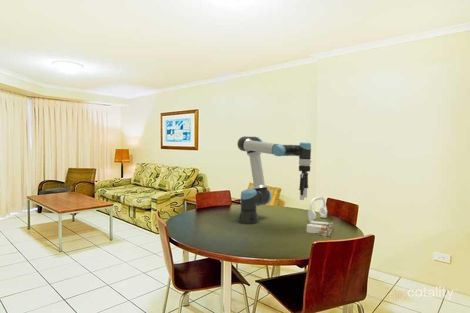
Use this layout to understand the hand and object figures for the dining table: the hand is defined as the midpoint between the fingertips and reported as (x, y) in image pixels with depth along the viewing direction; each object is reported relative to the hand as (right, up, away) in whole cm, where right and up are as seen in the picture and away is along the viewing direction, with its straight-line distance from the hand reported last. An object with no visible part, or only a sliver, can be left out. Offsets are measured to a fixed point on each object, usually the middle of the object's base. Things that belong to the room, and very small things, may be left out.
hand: (303, 198), depth 196 cm
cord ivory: (+7, -21, -7) cm, 23 cm away
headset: (+17, -20, +26) cm, 37 cm away
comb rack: (+14, -21, -5) cm, 26 cm away
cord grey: (+11, -21, +1) cm, 24 cm away
